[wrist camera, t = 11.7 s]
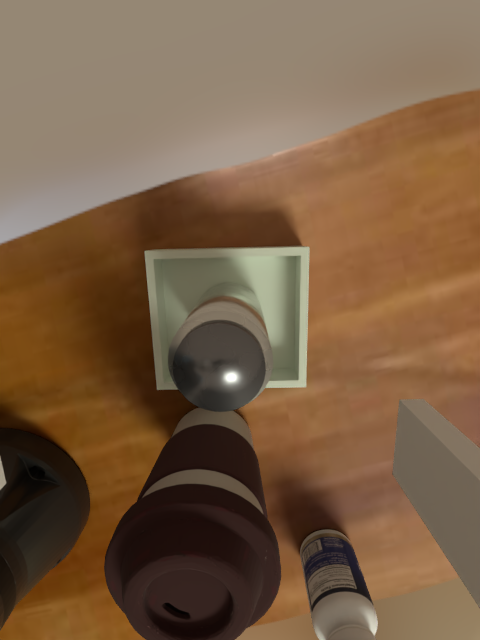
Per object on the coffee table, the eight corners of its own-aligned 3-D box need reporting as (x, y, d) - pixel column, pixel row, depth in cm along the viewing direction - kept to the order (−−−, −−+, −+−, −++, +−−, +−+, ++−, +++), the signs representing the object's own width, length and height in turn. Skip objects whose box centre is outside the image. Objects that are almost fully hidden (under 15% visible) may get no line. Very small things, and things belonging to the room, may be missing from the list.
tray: (165, 374, 30) (156, 389, 27) (155, 249, 28) (144, 251, 25) (299, 372, 30) (306, 387, 27) (302, 245, 28) (309, 246, 25)
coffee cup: (240, 373, 30) (238, 501, 16) (281, 462, 32) (312, 646, 18) (142, 412, 31) (54, 566, 17) (188, 496, 33) (145, 696, 19)
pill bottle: (353, 567, 35) (393, 688, 26) (301, 571, 36) (322, 692, 26) (350, 524, 34) (392, 635, 25) (297, 529, 34) (317, 641, 25)
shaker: (198, 346, 29) (167, 420, 17) (194, 282, 28) (158, 316, 16) (262, 345, 29) (274, 418, 17) (261, 281, 28) (274, 314, 16)
